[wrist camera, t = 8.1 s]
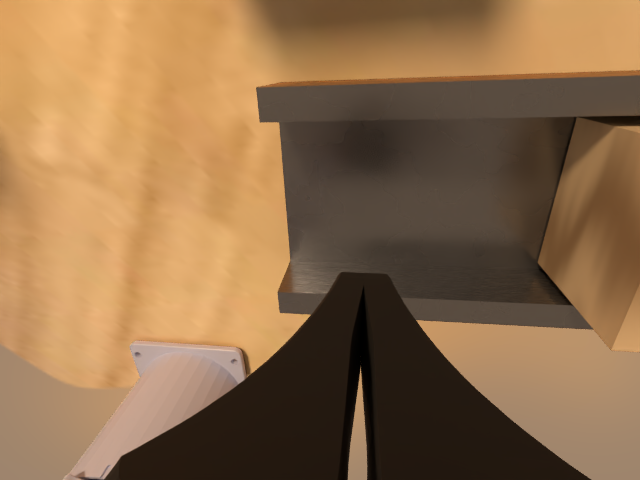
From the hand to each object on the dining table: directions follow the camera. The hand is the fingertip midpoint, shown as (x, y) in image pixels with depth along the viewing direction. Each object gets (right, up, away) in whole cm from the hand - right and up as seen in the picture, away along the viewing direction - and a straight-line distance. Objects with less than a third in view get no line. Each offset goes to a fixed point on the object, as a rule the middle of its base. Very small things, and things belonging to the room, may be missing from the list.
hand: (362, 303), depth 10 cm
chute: (+7, +4, +7) cm, 11 cm away
